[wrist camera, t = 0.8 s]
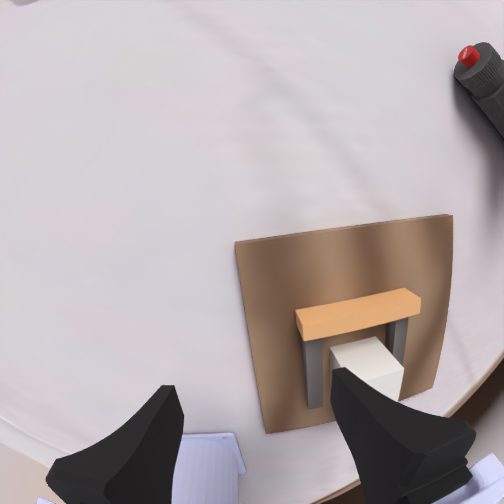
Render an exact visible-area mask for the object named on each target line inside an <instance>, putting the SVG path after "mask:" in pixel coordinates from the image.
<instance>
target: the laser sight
mask: <svg viewBox="0 0 504 504" xmlns="http://www.w3.org/2000/svg"><path fill="white" fill-rule="evenodd" d="M458 59H459V61H458V62H457V64H456V66H455V71H454V75H455V77H456V78H457V80H458V81H459V82H460V83H461V84H462V85H463V86H464V87H465V88H467V89H468V90H469V93H468V94H469V95H470V97H471V98H472V99H473V100H474V101H475V102H476V104H477V105H478V106H479V107H480V108H481V110H482V111H483V112H484V113H485V115H486V116H487V117H488V118H489V120H490V121H491V122H492V124H493V125H494V126H495V128H496V129H497V130H498V132H499V133H500V134H501V136H502V137H503V139H504V60H502V59H501V57H500V56H499V54H498V53H497V52H496V51H495V49H494V48H493V47H492V46H491V45H490V44H489V43H486V42H485V43H484V42H482V43H478V44H476V45H474V46H471V45H470V46H467V47H465V48H464V49H463V50H462V51H461V52H460V54H459V56H458Z"/></svg>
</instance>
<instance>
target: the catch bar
mask: <svg viewBox="0 0 504 504" xmlns="http://www.w3.org/2000/svg"><path fill="white" fill-rule="evenodd" d="M420 307H421V298H420V297H418V296H417V295H415V294H414V293H412V292H410V291H409V290H407V289H406V288H401V289H396V290H392V291H388V292H383V293H379V294H374V295H370V296H365V297H360V298H356V299H351V300H346V301H341V302H336V303H330V304H325V305H320V306H314V307H309V308H303V309H297V310H295V313H296V325H297V327H298V329H299V332H300V334H301V336H302V339H303V341H308V340H314V339H319V338H324V337H329V336H333V335H338V334H343V333H347V332H351V331H356V330H360V329H364V328H368V327H372V326H376V325H380V324H384V323H388V322H391V321H395V320H399V319H402V318H406V317H409V316H413V315H416V314H419V313H420Z"/></svg>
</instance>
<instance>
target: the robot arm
mask: <svg viewBox="0 0 504 504" xmlns="http://www.w3.org/2000/svg"><path fill="white" fill-rule="evenodd" d="M330 402H331V406H332V409H333V413H334V416H335V419H336V421H337V423H338V425H339V427H340V430H341V432H342V434H343V436H344V438H345V440H346V442H347V445H348V447H349V449H350V451H351V453H352V456H353V458H354V461H355V464H356V468H357V471H358V474H359V478H360V481H361V485H362V488H363V492H364V496H365V501H366V504H499V503H500V502H501V501H502V500H503V499H504V467H503V465H502V464H501V463H500V461H499V460H498V459H497V458H496V457H495V456H494V454H493V453H490V454H489V455H487V456H486V457H484V458H483V459H482V460H480V461H478V462H477V463H476V464H474V465H473V466H472V467H471V468H470V469H468V468H467V467H466V465H467V463H468V461H467V459H466V458H465V455H466V454H467V452H468V451H469V449H470V448H471V446H472V444H473V442H474V440H475V437H476V432H475V431H474V429H473V428H472V427H471V426H470V425H469V424H468V422H467V421H466V420H464V419H454V418H446V417H441V416H436V415H431V414H428V413H424V412H421V411H418V410H415V409H412V408H410V407H407V406H405V405H403V404H401V403H398V402H396V401H394V400H392V399H390V398H389V397H387V396H385V395H384V394H382V393H380V392H379V391H377V390H376V389H374V388H373V387H371V386H370V385H368V384H367V383H366V382H364V381H363V380H361V379H360V378H359V377H358V376H356V375H355V374H354V373H352V372H351V371H350V370H348V369H347V368H346V367H342V368H337V369H332V383H331V396H330ZM183 425H184V414H183V411H182V408H181V405H180V402H179V399H178V396H177V393H176V390H175V386H174V385H162V386H161V387H160V388H159V389H158V390H157V391H156V392H155V393H154V394H153V396H152V397H151V398H150V399H149V400H148V401H147V402H146V403H145V404H144V405H143V406H142V407H141V409H140V410H139V411H138V412H137V413H136V414H135V415H133V416H132V417H131V418H130V419H129V420H128V421H127V422H126V423H125V424H124V425H122V426H121V427H120V428H119V429H117V430H116V431H115V432H113V433H112V434H111V435H109V436H108V437H106V438H104V439H103V440H101V441H99V442H98V443H96V444H94V445H92V446H90V447H88V448H86V449H84V450H82V451H79V452H77V453H74V454H71V455H68V456H65V457H62V458H59V459H56V460H55V462H54V463H53V465H52V467H51V469H50V471H49V473H48V475H47V476H46V482H47V484H48V486H49V487H50V488H51V489H52V490H53V491H54V492H55V493H56V494H57V495H58V496H59V497H60V498H61V499H62V500H63V501H64V502H65V503H66V504H239V496H238V475H242V474H245V473H246V469H245V466H244V462H243V459H242V456H241V453H240V449H239V446H238V443H237V440H236V436H235V434H234V433H230V432H229V433H214V434H183ZM36 504H55V503H53V502H51V501H49V500H46V499H44V498H42V497H39V499H38V501H37V503H36Z"/></svg>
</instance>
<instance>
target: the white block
mask: <svg viewBox="0 0 504 504" xmlns="http://www.w3.org/2000/svg"><path fill="white" fill-rule="evenodd" d="M342 367H346V368H347V369H348V370H350V371H351V372H352V373H354V374H355V375H356V376H358V377H359V378H360V379H361V380H363V381H364V382H366V383H367V384H368V385H370V386H371V387H373V388H374V389H376V390H377V391H379V392H380V393H382V394H384V395H385V396H387V397H389V398H390V399H392V400H394V401H396V402H398V398H399V394H400V389H401V384H402V378H403V373H404V368H403V367H402V365H401V364H400V363H399V362H398V361H397V360H396V359H395V358H394V356H393V355H392V354H391V353H390V352H389V351H388V350H387V348H386V347H385V346H384V345H383V344H382V343H381V342H380V341H379V340H378V338H377V337H376V336H374V337H371V338H367V339H363V340H359V341H355V342H350V343H346V344H342V345H337V346H333V347H330V387H331V383H332V369H337V368H342Z"/></svg>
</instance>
